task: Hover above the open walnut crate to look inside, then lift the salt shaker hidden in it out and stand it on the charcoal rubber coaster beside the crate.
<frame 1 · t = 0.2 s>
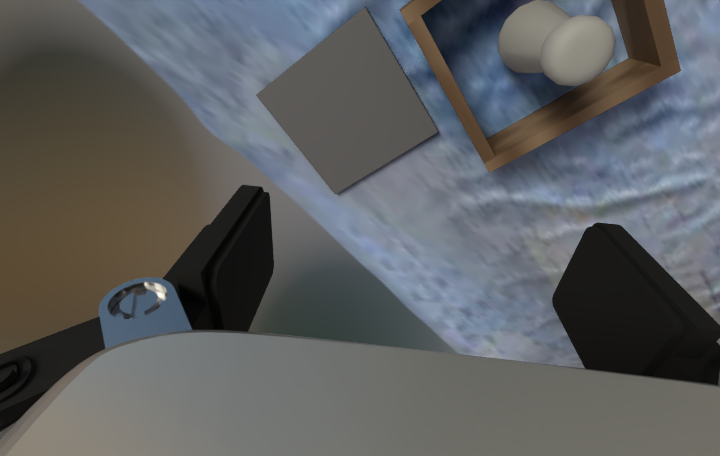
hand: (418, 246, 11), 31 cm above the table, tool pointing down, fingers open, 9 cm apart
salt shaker: (523, 35, 35), resting in crate
crate: (524, 35, 35), on the table
coaster: (348, 112, 40), on the table
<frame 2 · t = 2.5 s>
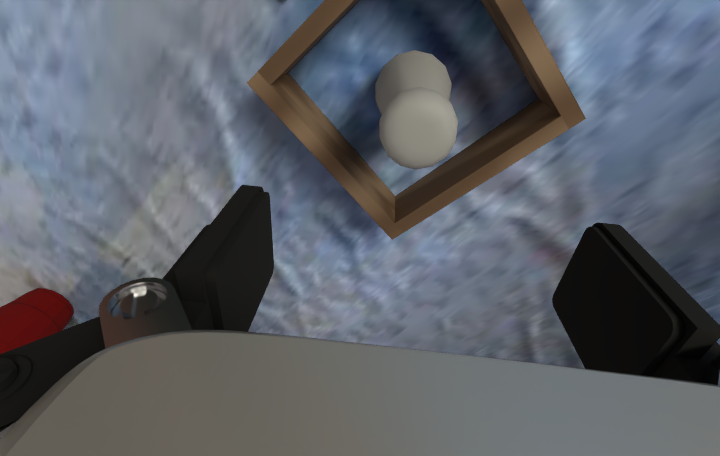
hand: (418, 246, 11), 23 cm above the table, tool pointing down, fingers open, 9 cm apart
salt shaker: (411, 85, 30), resting in crate
plastic cup: (51, 302, 49), on the table
crate: (411, 85, 30), on the table
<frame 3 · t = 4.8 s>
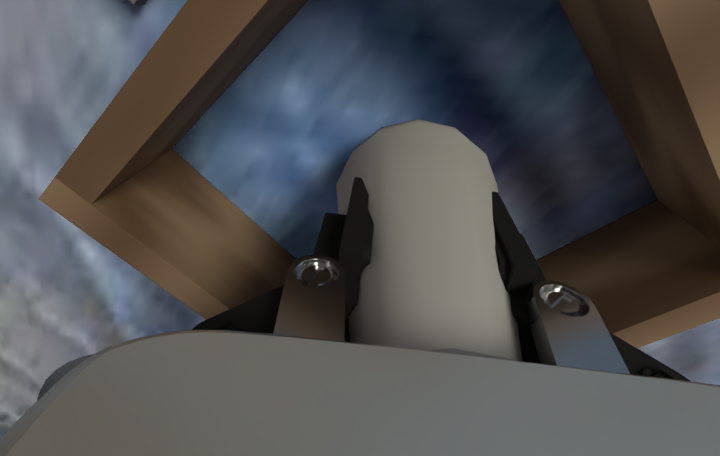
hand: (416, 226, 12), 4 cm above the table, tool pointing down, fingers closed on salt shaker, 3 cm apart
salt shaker: (411, 171, 16), resting in crate, touching gripper
crate: (411, 173, 16), on the table
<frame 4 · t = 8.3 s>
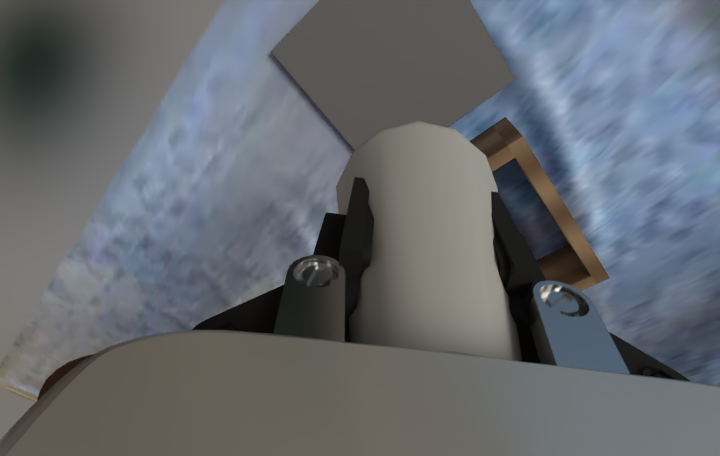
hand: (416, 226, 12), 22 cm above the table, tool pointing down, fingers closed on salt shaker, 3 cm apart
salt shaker: (411, 173, 16), point 18 cm above the table, touching gripper
crate: (469, 232, 38), on the table
coaster: (392, 64, 30), on the table
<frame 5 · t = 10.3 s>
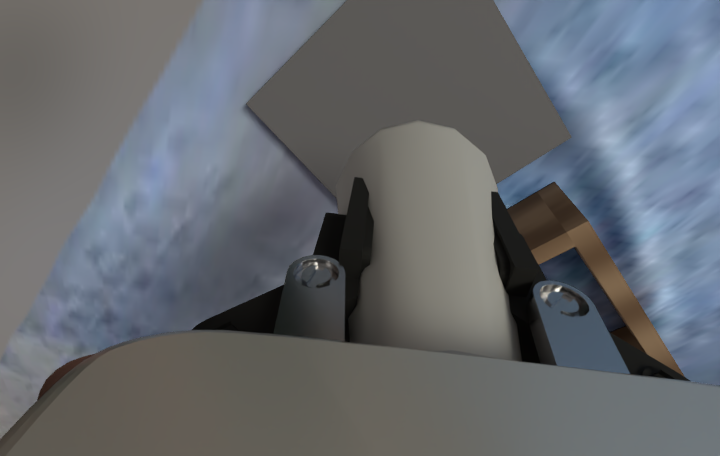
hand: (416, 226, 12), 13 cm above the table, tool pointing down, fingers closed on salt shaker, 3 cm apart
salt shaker: (411, 172, 16), point 8 cm above the table, touching gripper
crate: (501, 311, 31), on the table
coaster: (406, 117, 23), on the table
when the fingers open (6 cm above the table, at t = 11.8 s): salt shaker drops 1 cm, resting on coaster.
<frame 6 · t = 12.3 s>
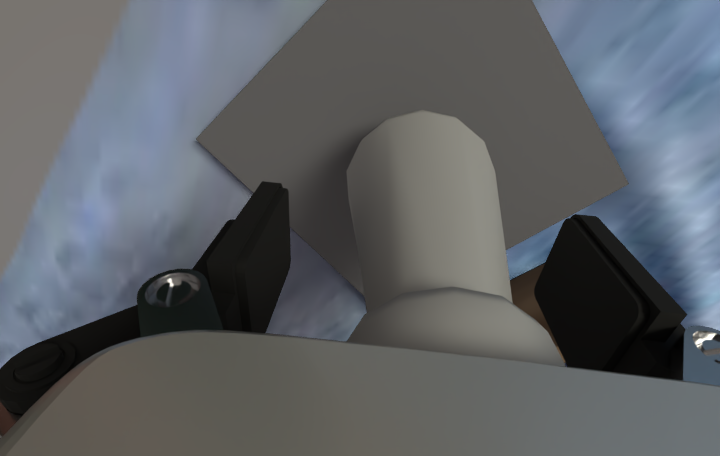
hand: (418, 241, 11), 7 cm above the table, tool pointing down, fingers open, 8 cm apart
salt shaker: (415, 160, 17), resting on coaster
crate: (524, 380, 25), on the table
coaster: (409, 156, 17), on the table
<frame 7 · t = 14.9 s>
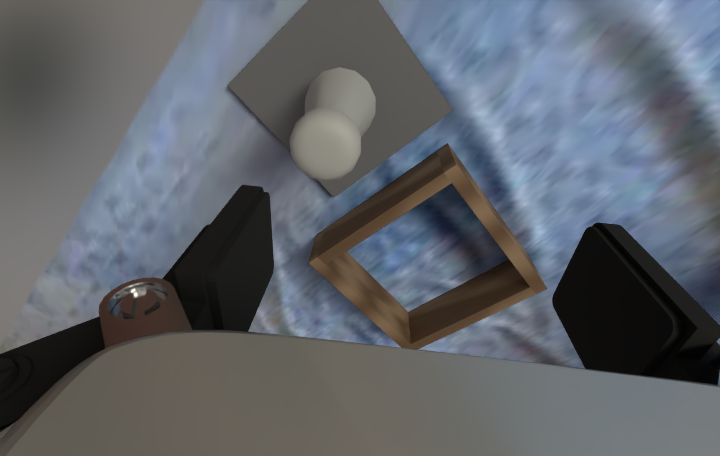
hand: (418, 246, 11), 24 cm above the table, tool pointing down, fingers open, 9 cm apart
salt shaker: (343, 98, 32), resting on coaster
crate: (423, 246, 41), on the table
coaster: (340, 96, 33), on the table
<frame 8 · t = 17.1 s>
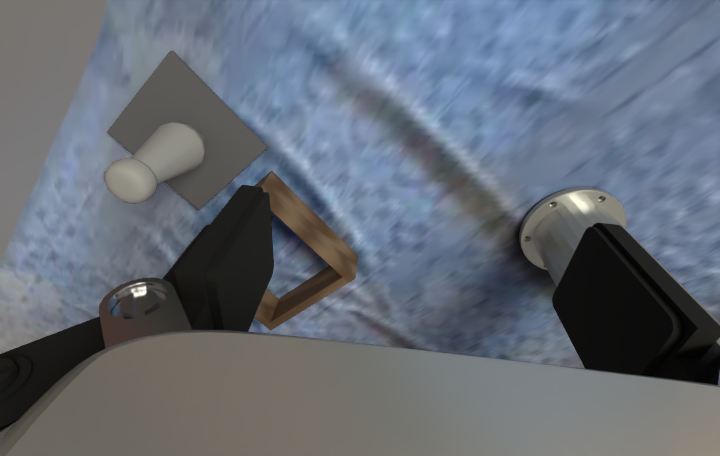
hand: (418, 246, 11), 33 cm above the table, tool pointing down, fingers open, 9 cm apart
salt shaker: (189, 140, 45), resting on coaster
crate: (276, 247, 53), on the table
coaster: (188, 138, 45), on the table
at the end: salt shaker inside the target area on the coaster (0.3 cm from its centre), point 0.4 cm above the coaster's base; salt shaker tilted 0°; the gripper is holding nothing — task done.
